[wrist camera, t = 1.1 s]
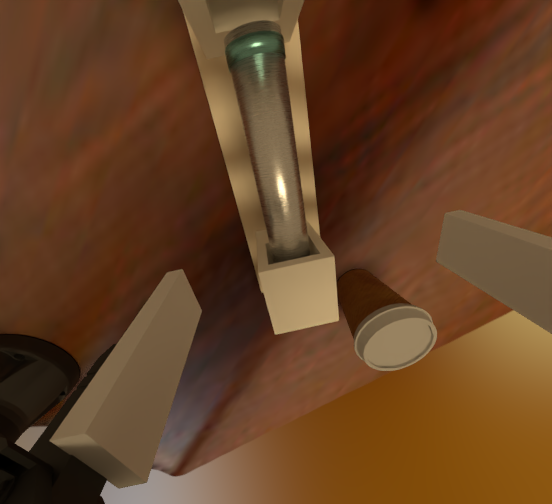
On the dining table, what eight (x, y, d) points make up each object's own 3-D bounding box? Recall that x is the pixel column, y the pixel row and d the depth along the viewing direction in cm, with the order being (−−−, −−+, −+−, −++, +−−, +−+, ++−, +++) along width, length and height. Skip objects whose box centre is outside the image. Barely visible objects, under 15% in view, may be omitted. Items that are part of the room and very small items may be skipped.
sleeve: (312, 268, 32) (339, 320, 22) (268, 277, 32) (275, 334, 22) (306, 219, 29) (334, 256, 19) (256, 230, 29) (258, 272, 19)
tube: (312, 288, 27) (321, 310, 23) (280, 295, 27) (285, 318, 23) (278, 44, 16) (286, 13, 13) (225, 55, 16) (218, 27, 13)
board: (323, 276, 33) (324, 279, 33) (261, 290, 33) (261, 292, 33) (282, -110, 16) (283, -118, 16) (157, -84, 16) (154, -92, 16)
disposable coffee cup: (314, 292, 34) (342, 357, 24) (355, 248, 32) (409, 300, 21) (353, 315, 38) (393, 382, 27) (394, 278, 35) (456, 336, 24)
